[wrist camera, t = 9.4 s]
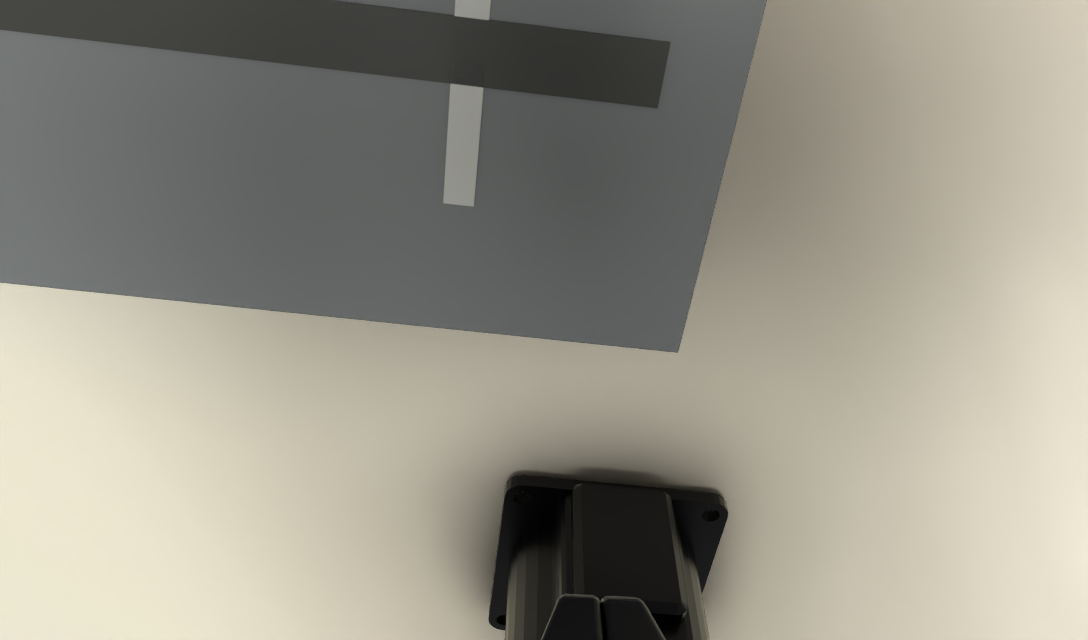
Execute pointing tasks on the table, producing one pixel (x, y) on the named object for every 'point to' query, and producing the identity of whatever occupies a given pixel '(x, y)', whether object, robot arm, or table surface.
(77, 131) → the console
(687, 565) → the robot arm
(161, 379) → the table surface
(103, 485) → the table surface
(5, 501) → the table surface
